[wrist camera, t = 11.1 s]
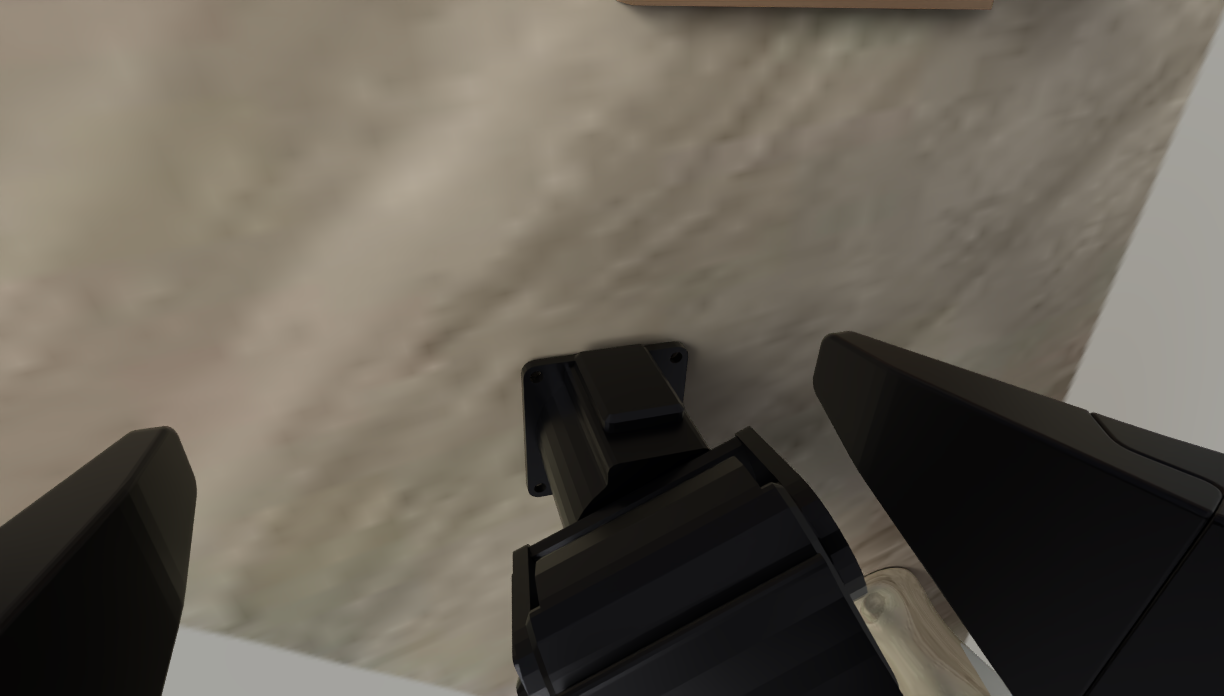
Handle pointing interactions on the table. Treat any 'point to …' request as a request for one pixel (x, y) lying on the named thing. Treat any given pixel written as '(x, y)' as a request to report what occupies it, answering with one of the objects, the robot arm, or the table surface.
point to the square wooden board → (826, 3)
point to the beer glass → (921, 641)
